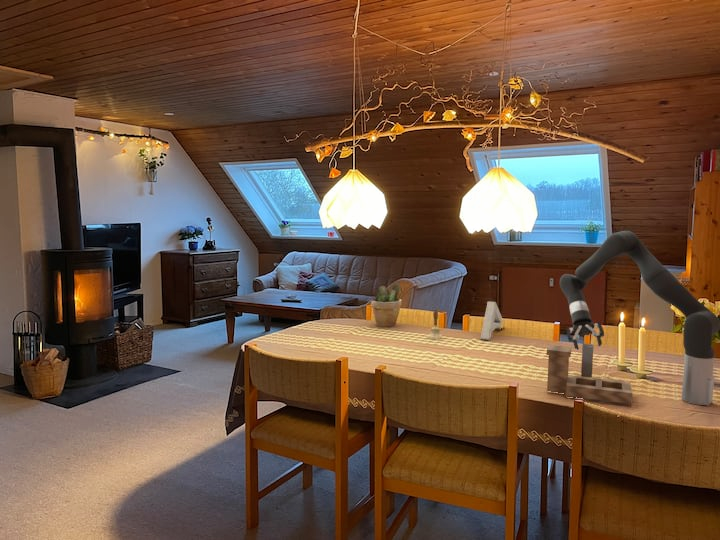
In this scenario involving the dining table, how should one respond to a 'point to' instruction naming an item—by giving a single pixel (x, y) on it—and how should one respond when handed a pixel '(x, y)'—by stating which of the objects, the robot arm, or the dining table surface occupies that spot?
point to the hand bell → (435, 328)
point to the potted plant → (386, 306)
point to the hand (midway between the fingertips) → (588, 347)
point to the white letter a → (491, 320)
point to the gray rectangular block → (587, 360)
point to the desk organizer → (583, 381)
